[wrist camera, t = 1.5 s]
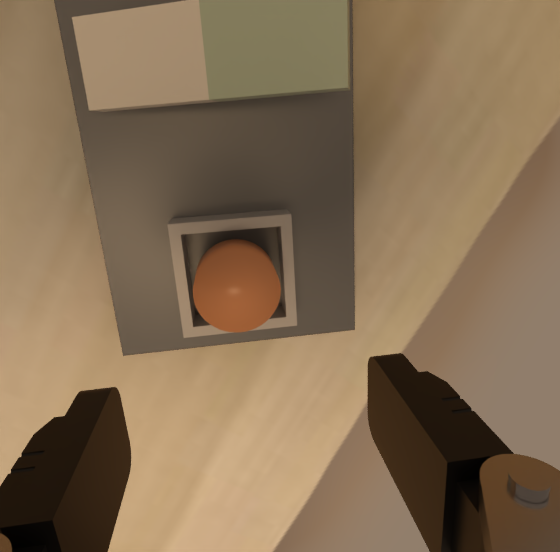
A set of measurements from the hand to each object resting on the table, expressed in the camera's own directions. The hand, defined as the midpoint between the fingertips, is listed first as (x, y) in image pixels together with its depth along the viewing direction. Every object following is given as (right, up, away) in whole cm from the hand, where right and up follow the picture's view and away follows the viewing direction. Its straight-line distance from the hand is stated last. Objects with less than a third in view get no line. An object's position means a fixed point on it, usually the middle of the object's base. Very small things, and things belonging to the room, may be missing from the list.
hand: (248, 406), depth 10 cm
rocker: (-2, +11, +6) cm, 13 cm away
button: (-1, +3, +10) cm, 10 cm away
